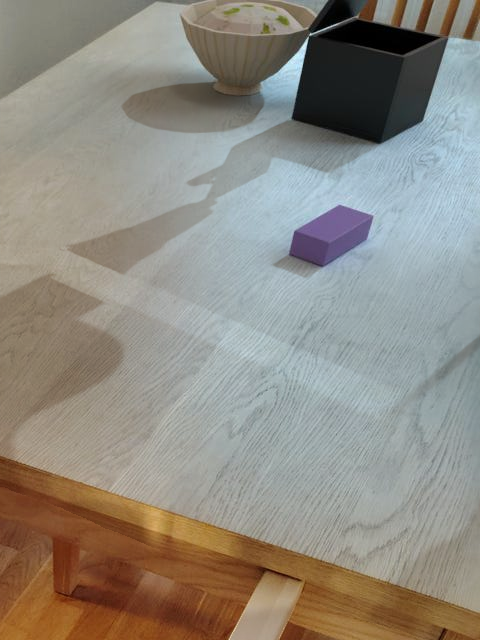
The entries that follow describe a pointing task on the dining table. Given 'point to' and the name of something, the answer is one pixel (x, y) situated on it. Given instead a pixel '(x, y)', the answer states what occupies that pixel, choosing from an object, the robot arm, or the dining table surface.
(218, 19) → the bowl
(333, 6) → the bin lid
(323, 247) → the purple rectangular block
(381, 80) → the bin
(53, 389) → the dining table surface
